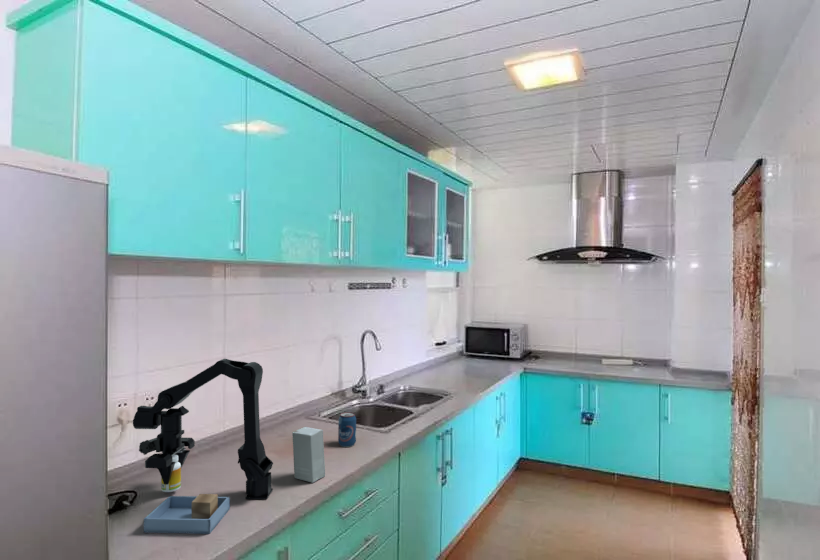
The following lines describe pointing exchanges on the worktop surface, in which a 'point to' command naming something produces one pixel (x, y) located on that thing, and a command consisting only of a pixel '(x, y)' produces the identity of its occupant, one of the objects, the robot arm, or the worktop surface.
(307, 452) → the skincare box
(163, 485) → the supplement bottle
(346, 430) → the soda can
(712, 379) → the worktop surface
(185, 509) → the tote
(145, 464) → the robot arm
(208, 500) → the cube
